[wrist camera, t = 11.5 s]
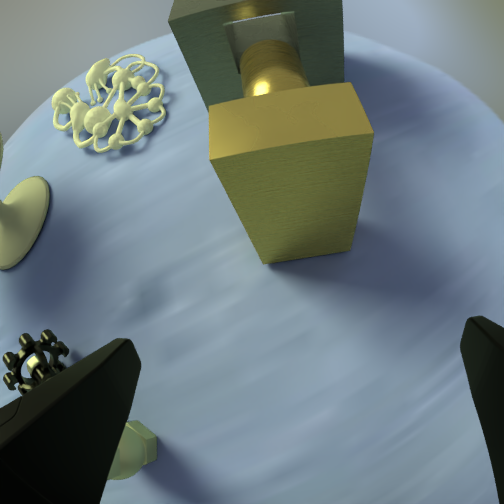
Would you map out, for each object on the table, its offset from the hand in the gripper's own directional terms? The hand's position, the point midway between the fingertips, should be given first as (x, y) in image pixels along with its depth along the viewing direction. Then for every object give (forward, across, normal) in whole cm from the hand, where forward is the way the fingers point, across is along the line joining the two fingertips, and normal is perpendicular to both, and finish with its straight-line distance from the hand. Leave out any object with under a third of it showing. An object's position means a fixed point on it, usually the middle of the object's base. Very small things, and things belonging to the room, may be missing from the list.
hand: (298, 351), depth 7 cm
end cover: (+18, 0, 0) cm, 18 cm away
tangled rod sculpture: (+30, +21, -11) cm, 38 cm away
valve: (+6, +16, +12) cm, 21 cm away
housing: (+27, +1, -9) cm, 29 cm away
